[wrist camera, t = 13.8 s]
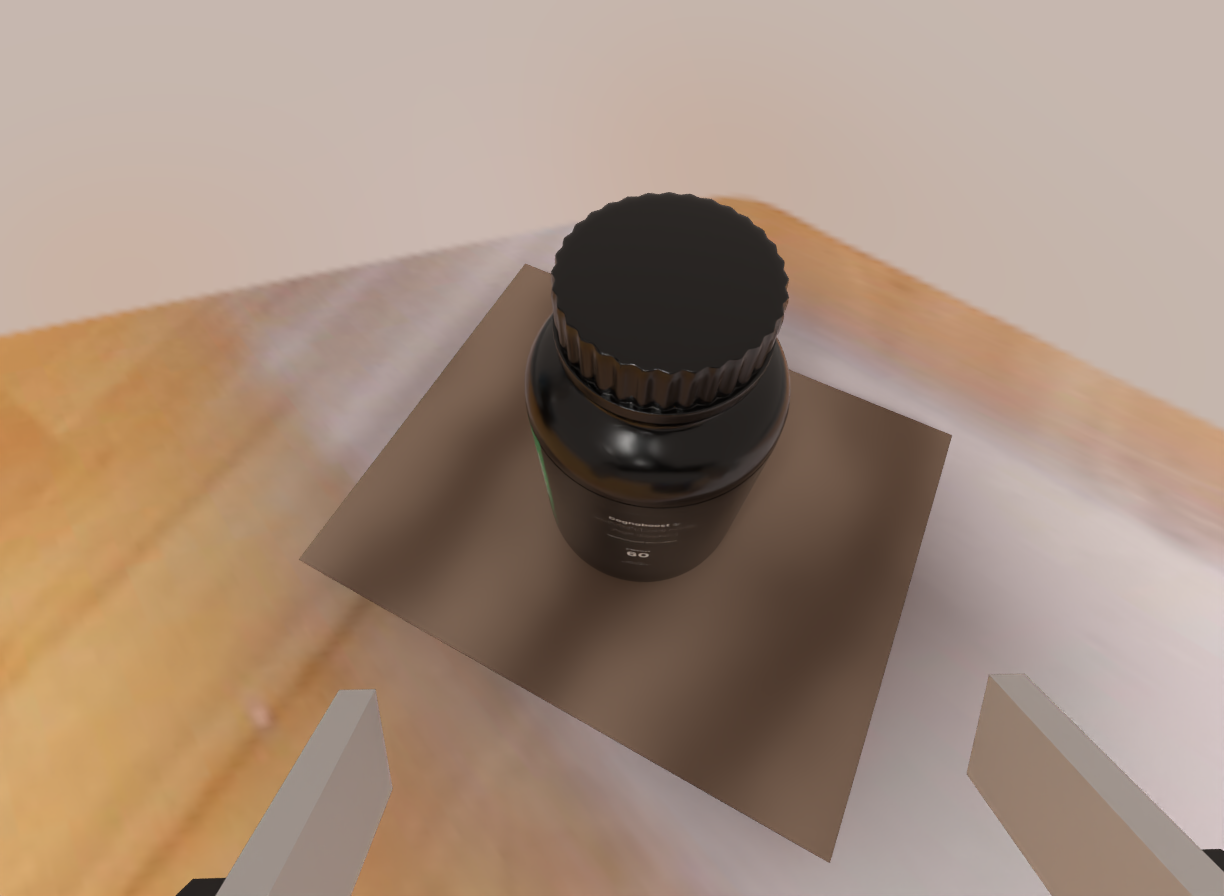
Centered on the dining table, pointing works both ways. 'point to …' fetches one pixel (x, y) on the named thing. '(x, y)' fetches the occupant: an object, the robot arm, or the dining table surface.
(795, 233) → the dining table surface
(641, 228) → the supplement bottle
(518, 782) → the dining table surface
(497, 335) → the walnut board
